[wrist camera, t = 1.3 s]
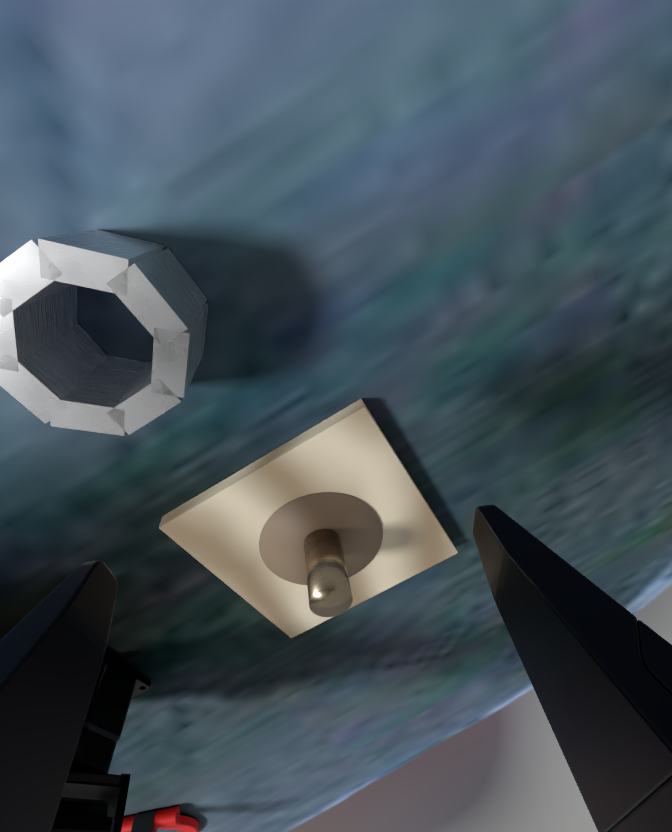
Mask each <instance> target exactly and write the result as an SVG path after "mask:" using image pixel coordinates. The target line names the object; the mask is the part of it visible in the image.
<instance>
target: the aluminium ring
mask: <svg viewBox="0 0 672 832" xmlns="http://www.w3.org/2000/svg"><path fill="white" fill-rule="evenodd" d="M77 285H78V286H82V287H87V288H92V289H97V290H101V291H106V292H111V293H115V294H116V295H117V296H118V297H119V299H120V300H121V301H122V302H123V303H124V304H125V305H126V306H127V308H128V309H129V310H130V311H131V312H132V313H133V314H134V316H135V317H136V318H137V319H138V320H139V321H140V322H141V324H142V325H143V326H144V327H145V328H146V329H147V330H148V332H149V333H150V334H151V335H152V336H153V337H154V343H153V360H152V361H150V362H143V361H138V360H132V359H126V358H121V357H115V356H109V355H108V354H107V353H106V352H105V351H104V350H103V349H102V348H101V347H100V346H99V345H98V344H97V343H96V342H95V341H94V340H93V339H92V338H91V337H90V336H89V335H88V334H87V332H86V331H85V330H84V329H83V328H82V327H81V326H80V325H79V324H78V299H77ZM207 300H208V299H207V298H206V297H205V295H204V294H203V293H202V291H201V290H200V289H199V287H198V286H197V285H196V283H195V282H194V281H193V279H192V278H191V277H190V275H189V274H188V273H187V272H186V270H185V269H184V268H183V266H182V265H181V264H180V262H179V261H178V260H177V258H176V257H175V256H174V254H173V253H172V252H171V250H170V249H169V248H168V249H166V250H164V245H161V244H157V243H153V242H149V241H145V240H141V239H136V238H132V237H128V236H124V235H120V234H116V233H112V232H108V231H104V230H100V229H98V230H91V231H85V232H78V233H71V234H65V235H58V236H51V237H45V238H38V239H32V240H30V241H29V242H27V243H26V244H25V245H23V246H22V247H21V248H19V249H18V250H17V251H15V252H14V253H13V254H11V255H10V256H9V257H7V258H6V259H5V260H3V261H2V262H1V263H0V386H1V387H2V388H4V389H5V390H6V391H7V392H8V393H10V394H11V395H12V396H13V397H14V398H15V399H17V400H18V401H19V402H20V403H21V404H23V405H24V406H25V407H26V408H27V409H28V410H30V411H31V412H32V413H33V414H34V415H36V416H37V417H38V418H39V419H40V420H41V421H43V422H44V423H47V422H48V421H50V422H51V426H54V427H62V428H69V429H77V430H84V431H92V432H99V433H107V434H114V435H122V436H124V435H125V434H126V432H127V433H128V434H129V435H130V434H131V433H133V432H134V431H136V430H138V429H139V428H141V427H142V426H144V425H146V424H147V423H149V422H150V421H152V420H153V419H155V418H157V417H158V416H160V415H161V414H163V413H164V412H166V411H168V410H169V409H171V408H172V407H174V406H175V405H177V404H179V403H180V402H181V401H182V399H183V398H184V396H185V394H186V392H187V390H188V387H189V385H190V383H191V381H192V379H193V376H194V374H195V372H196V370H197V367H198V365H199V363H200V361H201V359H202V356H203V352H204V343H205V334H206V325H207V316H208V307H209V304H208V303H206V301H207Z"/></svg>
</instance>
